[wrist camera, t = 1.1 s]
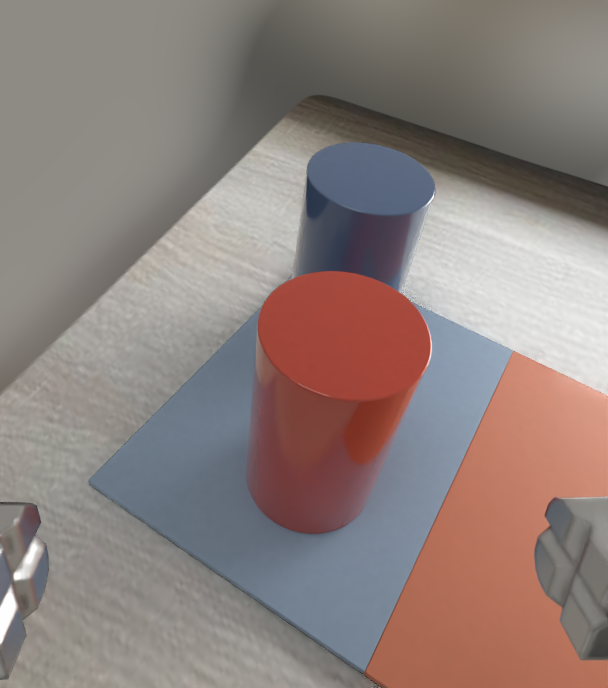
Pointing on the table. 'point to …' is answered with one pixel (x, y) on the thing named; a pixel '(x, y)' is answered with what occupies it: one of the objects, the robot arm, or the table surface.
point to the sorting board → (394, 516)
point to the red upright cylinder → (329, 395)
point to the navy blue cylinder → (362, 212)
